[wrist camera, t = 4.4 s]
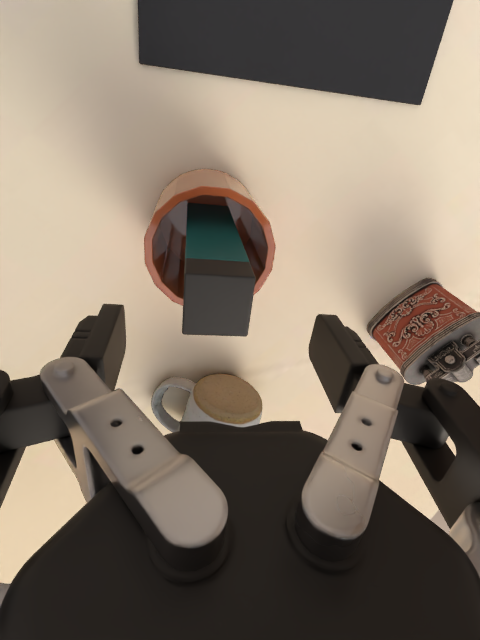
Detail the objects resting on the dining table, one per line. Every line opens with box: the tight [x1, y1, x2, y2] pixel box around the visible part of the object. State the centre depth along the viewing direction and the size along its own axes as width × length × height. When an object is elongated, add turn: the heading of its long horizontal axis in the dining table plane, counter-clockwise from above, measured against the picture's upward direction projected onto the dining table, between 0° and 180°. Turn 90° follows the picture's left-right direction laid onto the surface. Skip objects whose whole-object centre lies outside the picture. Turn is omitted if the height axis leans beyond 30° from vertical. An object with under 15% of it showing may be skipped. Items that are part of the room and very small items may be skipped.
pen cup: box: [144, 169, 275, 305], centre depth 26 cm, size 8×8×8 cm
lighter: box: [367, 278, 480, 385], centre depth 31 cm, size 8×3×10 cm, turn 135°
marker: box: [182, 203, 256, 336], centre depth 22 cm, size 3×3×14 cm
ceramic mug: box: [151, 374, 262, 432], centre depth 35 cm, size 11×8×8 cm
